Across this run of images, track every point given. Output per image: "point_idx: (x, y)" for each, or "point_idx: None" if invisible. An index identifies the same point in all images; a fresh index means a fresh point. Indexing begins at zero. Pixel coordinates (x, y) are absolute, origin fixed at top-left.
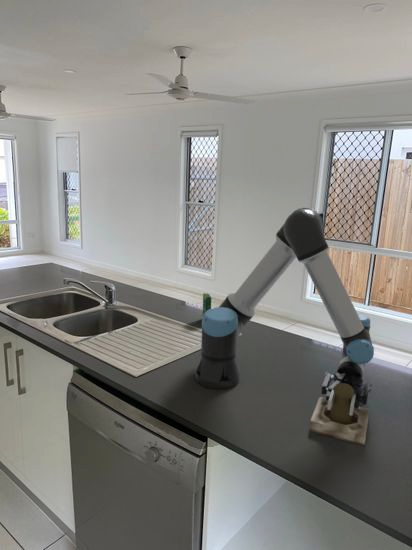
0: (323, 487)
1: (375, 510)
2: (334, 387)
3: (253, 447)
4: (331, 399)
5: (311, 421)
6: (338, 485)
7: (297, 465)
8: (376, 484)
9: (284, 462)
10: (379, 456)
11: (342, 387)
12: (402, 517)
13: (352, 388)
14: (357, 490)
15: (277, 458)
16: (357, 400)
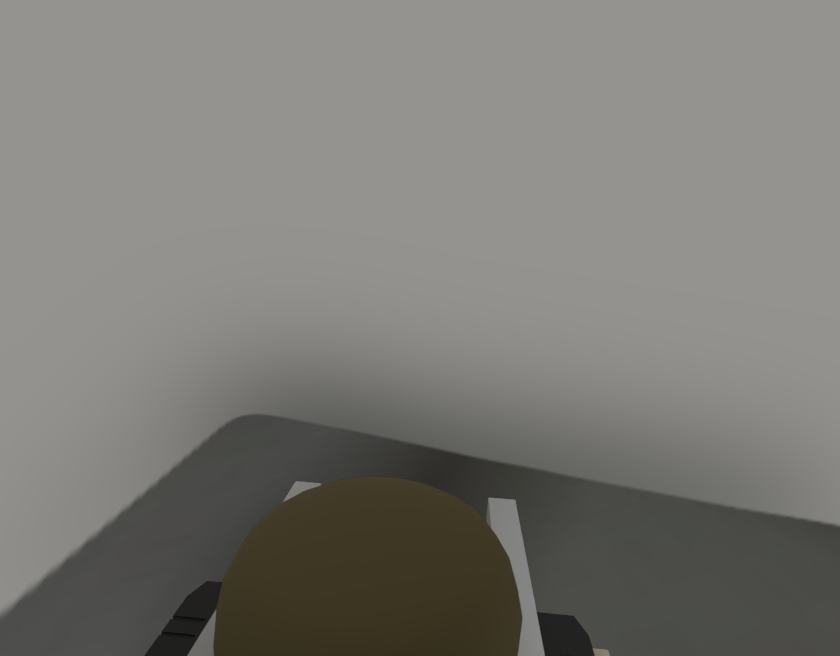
0: (430, 449)
1: (296, 430)
2: (513, 574)
3: (722, 516)
4: (493, 515)
5: (598, 654)
6: (387, 460)
7: (529, 488)
8: (258, 483)
9: (575, 488)
10: (154, 616)
11: (402, 487)
12: (231, 428)
13: (250, 535)
14: (331, 458)
15: (607, 496)
16: (183, 639)
